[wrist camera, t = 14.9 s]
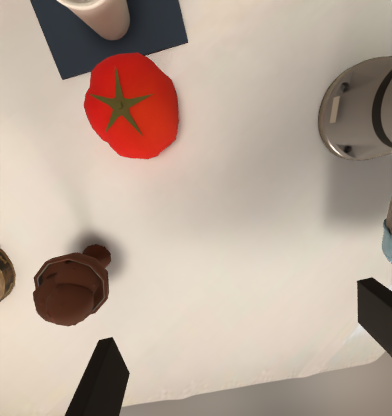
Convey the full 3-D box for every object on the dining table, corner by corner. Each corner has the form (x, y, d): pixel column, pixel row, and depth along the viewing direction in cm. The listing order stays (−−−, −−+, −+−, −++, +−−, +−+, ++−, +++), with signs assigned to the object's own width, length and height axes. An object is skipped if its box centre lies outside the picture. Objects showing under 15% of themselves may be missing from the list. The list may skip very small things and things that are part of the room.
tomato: (93, 76, 32) (49, 44, 22) (171, 63, 32) (164, 25, 22) (116, 163, 36) (88, 169, 26) (186, 151, 36) (186, 153, 26)
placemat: (166, -51, 28) (165, -54, 28) (187, 42, 31) (187, 41, 31) (28, -8, 29) (26, -10, 29) (63, 79, 32) (61, 78, 32)
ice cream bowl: (99, 221, 39) (49, 265, 24) (135, 264, 42) (109, 327, 27) (56, 248, 40) (-17, 306, 26) (94, 289, 43) (47, 361, 29)
